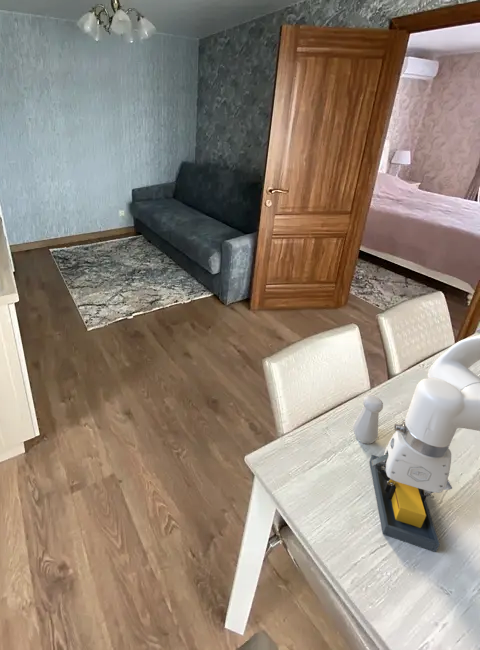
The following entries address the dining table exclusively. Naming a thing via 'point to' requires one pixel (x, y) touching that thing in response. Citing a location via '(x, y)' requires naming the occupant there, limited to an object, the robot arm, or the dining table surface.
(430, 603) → the dining table surface
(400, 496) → the block
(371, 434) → the salt shaker
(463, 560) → the dining table surface
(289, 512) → the dining table surface
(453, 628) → the dining table surface
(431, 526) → the tray
